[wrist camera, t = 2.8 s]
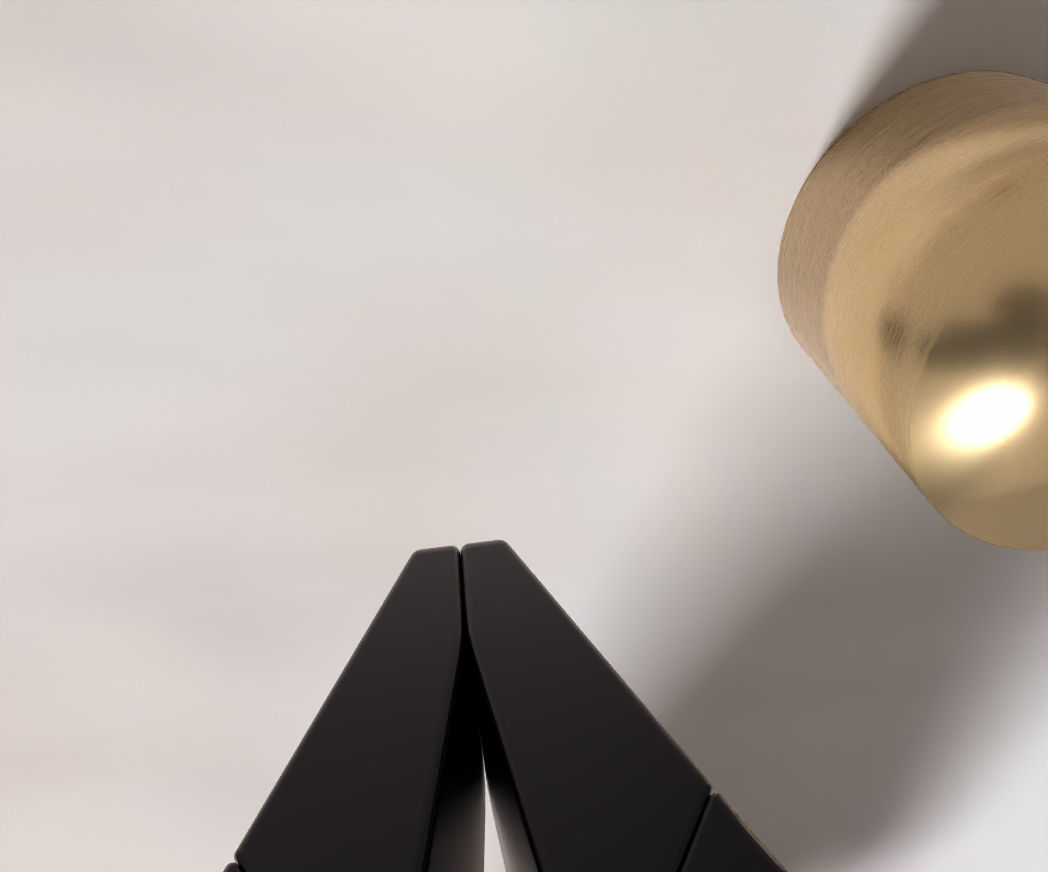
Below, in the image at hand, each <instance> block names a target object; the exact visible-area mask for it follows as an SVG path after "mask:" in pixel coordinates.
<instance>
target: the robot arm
mask: <svg viewBox="0 0 1048 872" xmlns="http://www.w3.org/2000/svg"><path fill="white" fill-rule="evenodd" d="M482 750H483V751H482ZM483 757H484V762H483ZM484 765H485V772H486V779H487V786H488V791H489V796H490V801H491V807H492V812H493V816H494V820H495V825H496V829H497V833H498V838H499V842H500V847H501V851H502V855H503V860H504V864H505V868H506V872H788V871H787V870H786V869H785V868H784V867H783V866H782V865H781V864H780V862H779V861H778V860H777V859H776V858H775V857H774V856H773V855H772V854H771V852H770V851H769V850H768V849H767V848H766V847H765V846H764V845H763V844H762V842H761V841H760V840H759V839H758V838H757V837H756V836H755V835H754V834H753V832H752V831H751V830H750V829H749V828H748V827H747V825H746V824H745V823H744V822H743V821H742V819H741V818H740V817H739V816H738V815H737V814H736V812H735V811H734V810H733V809H732V808H731V806H730V805H729V804H728V803H727V802H726V800H725V799H724V798H723V797H722V796H721V795H720V794H718V793H714V794H713V786H712V785H711V783H710V782H709V781H708V780H707V779H706V777H705V776H704V775H703V774H702V773H701V772H700V770H699V769H698V768H697V767H696V766H695V764H694V763H693V762H692V761H691V760H690V759H689V757H688V756H687V755H686V754H685V753H684V751H683V750H682V749H681V748H680V747H679V746H678V744H677V743H676V742H675V741H674V740H673V738H672V737H671V736H670V735H669V734H668V733H667V731H666V730H665V729H664V728H663V727H662V725H661V724H660V723H659V722H658V721H657V719H656V718H655V717H654V716H653V715H652V714H651V712H650V711H649V710H648V709H647V708H646V706H645V705H644V704H643V703H642V702H641V701H640V699H639V698H638V697H637V696H636V695H635V693H634V692H633V691H632V690H631V689H630V688H629V686H628V685H627V684H626V683H625V682H624V680H623V679H622V678H621V677H620V676H619V675H618V673H617V672H616V671H615V670H614V669H613V667H612V666H611V665H610V664H609V663H608V661H607V660H606V659H605V658H604V657H603V656H602V654H601V653H600V652H599V651H598V650H597V648H596V647H595V646H594V645H593V644H592V643H591V641H590V640H589V639H588V638H587V637H586V635H585V634H584V633H583V632H582V631H581V630H580V628H579V627H578V626H577V625H576V624H575V622H574V621H573V620H572V619H571V618H570V617H569V615H568V614H567V613H566V612H565V611H564V609H563V608H562V607H561V606H560V605H559V603H558V602H557V601H556V600H555V599H554V598H553V596H552V595H551V594H550V593H549V592H548V590H547V589H546V588H545V587H544V586H543V585H542V583H541V582H540V581H539V580H538V579H537V577H536V576H535V575H534V574H533V573H532V572H531V570H530V569H529V568H528V567H527V566H526V564H525V563H524V562H523V561H522V560H521V559H520V557H519V556H518V555H517V554H516V553H515V551H514V550H513V549H512V548H511V547H510V546H509V545H508V544H507V543H506V542H505V541H503V540H494V541H486V542H478V543H470V544H466V545H464V546H463V547H462V549H461V555H460V551H459V549H458V548H457V547H455V546H446V547H437V548H429V549H421V550H418V551H416V552H414V553H413V554H412V556H411V557H410V559H409V560H408V562H407V564H406V565H405V567H404V569H403V571H402V572H401V574H400V576H399V577H398V579H397V581H396V582H395V584H394V586H393V587H392V589H391V591H390V592H389V594H388V596H387V598H386V599H385V601H384V603H383V604H382V606H381V608H380V609H379V611H378V613H377V614H376V616H375V618H374V619H373V621H372V623H371V624H370V626H369V628H368V630H367V631H366V633H365V635H364V636H363V638H362V640H361V641H360V643H359V645H358V646H357V648H356V650H355V651H354V653H353V655H352V657H351V658H350V660H349V662H348V663H347V665H346V667H345V668H344V670H343V672H342V673H341V675H340V677H339V678H338V680H337V682H336V683H335V685H334V687H333V689H332V690H331V692H330V694H329V695H328V697H327V699H326V700H325V702H324V704H323V705H322V707H321V709H320V710H319V712H318V714H317V716H316V717H315V719H314V721H313V722H312V724H311V726H310V727H309V729H308V731H307V732H306V734H305V736H304V737H303V739H302V741H301V743H300V744H299V746H298V748H297V749H296V751H295V753H294V754H293V756H292V758H291V759H290V761H289V763H288V764H287V766H286V768H285V769H284V771H283V773H282V775H281V776H280V778H279V780H278V781H277V783H276V785H275V786H274V788H273V790H272V791H271V793H270V795H269V796H268V798H267V800H266V802H265V803H264V805H263V807H262V808H261V810H260V812H259V813H258V815H257V817H256V818H255V820H254V822H253V823H252V825H251V827H250V829H249V830H248V832H247V834H246V835H245V837H244V839H243V840H242V842H241V844H240V845H239V847H238V849H237V850H236V852H235V854H234V859H235V862H236V863H230V864H228V865H227V866H226V868H225V870H224V871H223V872H484V844H485V776H484Z"/></svg>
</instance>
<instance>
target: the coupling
mask: <svg viewBox="0 0 1048 872" xmlns="http://www.w3.org/2000/svg"><path fill="white" fill-rule="evenodd" d="M778 289H779V297H780V303H781V306H782V310H783V313H784V317H785V319H786V322H787V324H788V326H789V328H790V330H791V332H792V334H793V336H794V337H795V339H796V340H797V341H798V343H799V344H800V346H801V347H802V348H803V350H804V351H805V352H806V353H807V355H808V356H809V357H810V358H811V359H812V361H813V362H814V363H815V364H816V365H817V367H818V368H819V369H820V370H821V371H822V373H823V374H824V375H825V376H826V377H827V379H828V380H829V381H830V382H831V383H832V385H833V386H834V387H835V388H836V390H837V391H838V392H839V393H840V394H841V396H842V397H843V398H844V399H845V400H846V402H847V403H848V404H849V405H850V406H851V408H852V409H853V410H854V411H855V412H856V414H857V415H858V416H859V417H860V418H861V420H862V421H863V422H864V423H865V425H866V426H867V427H868V428H869V429H870V431H871V432H872V433H873V434H874V435H875V437H876V438H877V439H878V440H879V441H880V443H881V444H882V445H883V446H884V447H885V449H886V450H887V451H888V452H889V453H890V455H891V456H892V457H893V458H894V460H895V461H896V462H897V463H898V464H899V466H900V467H901V468H902V469H903V470H904V472H905V473H906V474H907V475H908V476H909V478H910V479H911V480H912V481H913V482H914V484H915V485H916V486H917V487H918V488H919V490H920V491H921V492H922V493H923V495H924V496H925V497H926V498H927V499H928V501H929V502H930V503H931V504H932V505H933V507H934V508H935V509H936V510H937V511H938V512H939V513H940V514H941V515H942V516H943V517H944V518H945V519H946V520H947V521H948V522H949V523H951V524H952V525H954V526H955V527H957V528H958V529H959V530H961V531H962V532H964V533H966V534H968V535H970V536H972V537H974V538H977V539H979V540H981V541H984V542H987V543H991V544H994V545H998V546H1001V547H1008V548H1015V549H1022V550H1048V84H1045V83H1042V82H1038V81H1035V80H1032V79H1029V78H1026V77H1022V76H1019V75H1015V74H1012V73H1003V72H995V71H978V72H965V73H959V74H954V75H948V76H944V77H941V78H937V79H934V80H931V81H928V82H925V83H922V84H919V85H917V86H915V87H913V88H911V89H908V90H906V91H904V92H902V93H899V94H898V95H896V96H894V97H893V98H891V99H889V100H888V101H886V102H884V103H883V104H881V105H879V106H878V107H876V108H875V109H874V110H872V111H871V112H870V113H868V114H867V115H866V116H864V117H863V118H862V119H860V120H859V121H858V122H856V123H855V124H854V125H853V126H852V127H851V128H850V129H849V130H848V131H847V132H846V133H845V134H843V135H842V136H841V137H840V138H839V139H838V140H837V141H836V142H835V144H834V145H833V146H832V147H831V148H830V149H829V150H828V152H827V153H826V154H825V155H824V156H823V157H822V159H821V160H820V161H819V163H818V164H817V166H816V167H815V168H814V170H813V171H812V173H811V174H810V176H809V177H808V178H807V180H806V182H805V184H804V186H803V187H802V189H801V191H800V193H799V195H798V196H797V198H796V200H795V203H794V205H793V207H792V210H791V212H790V214H789V217H788V219H787V222H786V226H785V229H784V233H783V236H782V240H781V245H780V252H779V258H778Z"/></svg>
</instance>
